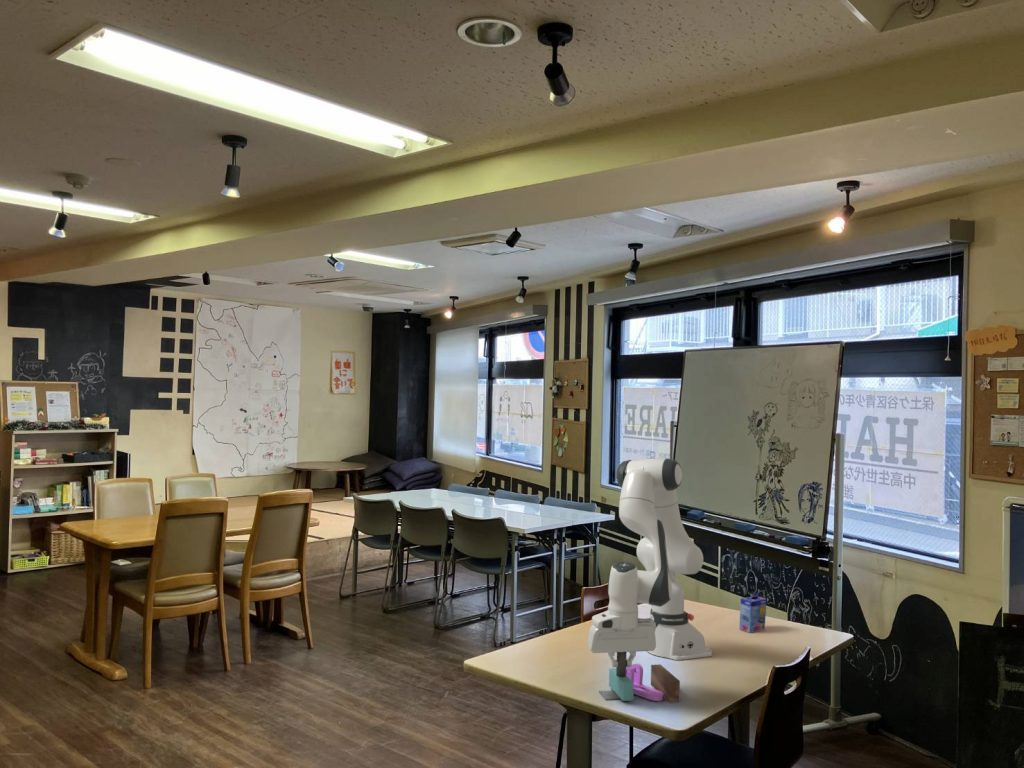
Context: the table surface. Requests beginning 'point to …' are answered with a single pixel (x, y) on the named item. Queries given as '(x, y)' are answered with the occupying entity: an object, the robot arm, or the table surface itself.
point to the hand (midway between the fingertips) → (621, 666)
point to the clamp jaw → (621, 679)
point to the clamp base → (656, 685)
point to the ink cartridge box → (752, 613)
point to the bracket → (638, 687)
